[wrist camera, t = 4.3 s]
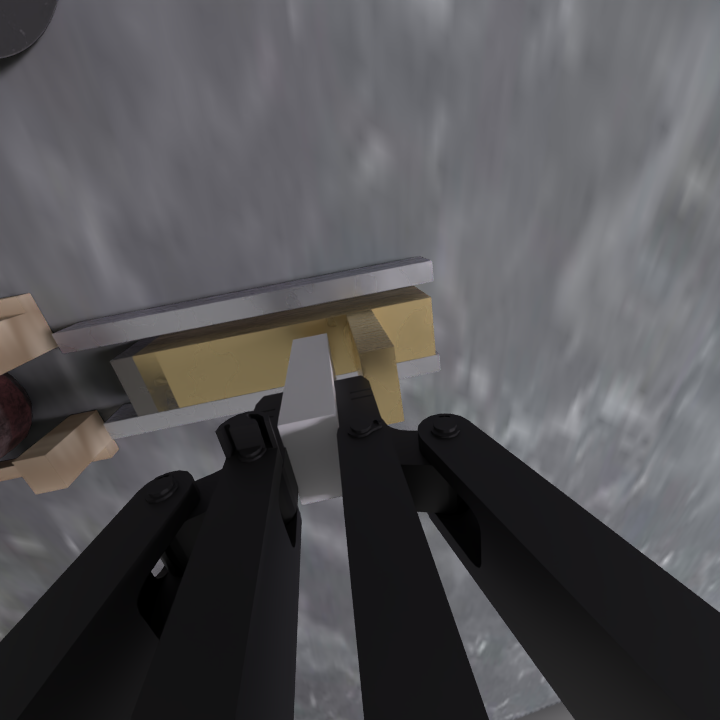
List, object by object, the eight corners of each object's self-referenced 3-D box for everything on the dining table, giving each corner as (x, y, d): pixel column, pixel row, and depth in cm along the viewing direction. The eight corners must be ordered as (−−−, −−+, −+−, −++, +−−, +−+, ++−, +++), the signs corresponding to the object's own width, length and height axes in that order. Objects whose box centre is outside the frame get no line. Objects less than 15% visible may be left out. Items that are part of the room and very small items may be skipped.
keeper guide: (79, 321, 17) (51, 334, 15) (420, 256, 18) (431, 260, 16) (131, 419, 20) (112, 439, 18) (429, 357, 20) (440, 370, 19)
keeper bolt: (141, 339, 18) (20, 422, 11) (413, 285, 19) (477, 329, 11) (163, 388, 19) (69, 493, 12) (419, 335, 20) (479, 404, 12)
